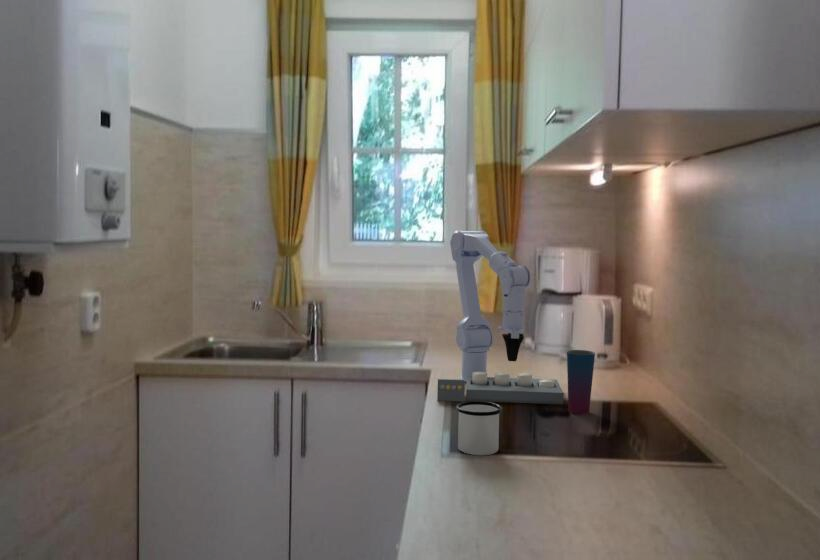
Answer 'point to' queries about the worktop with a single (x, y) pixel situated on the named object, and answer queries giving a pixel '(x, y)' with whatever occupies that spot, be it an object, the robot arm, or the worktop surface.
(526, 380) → the button
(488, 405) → the mug
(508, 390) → the board
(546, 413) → the worktop surface
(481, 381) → the button
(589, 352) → the cup
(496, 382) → the button
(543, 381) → the button
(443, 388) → the card
